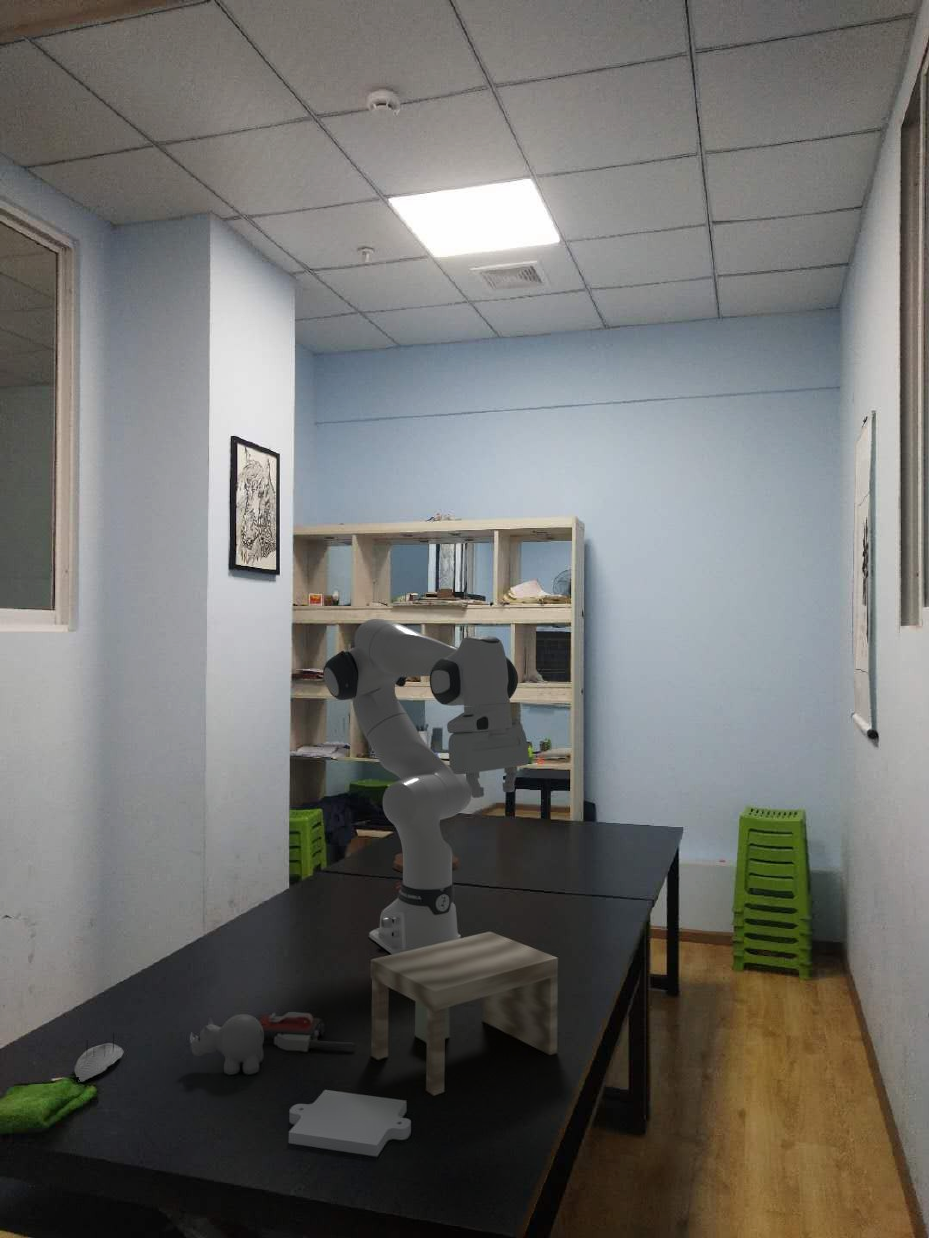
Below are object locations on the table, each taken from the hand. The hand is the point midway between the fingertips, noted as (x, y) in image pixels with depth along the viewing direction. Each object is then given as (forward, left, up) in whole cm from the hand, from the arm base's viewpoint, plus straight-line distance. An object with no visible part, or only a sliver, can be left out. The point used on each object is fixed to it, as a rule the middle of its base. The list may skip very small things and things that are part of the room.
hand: (493, 794), depth 183 cm
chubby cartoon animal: (-8, -49, -41) cm, 64 cm away
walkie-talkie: (-10, -34, -41) cm, 55 cm away
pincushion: (-21, -65, -41) cm, 80 cm away
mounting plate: (+20, -43, -41) cm, 63 cm away
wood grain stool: (+11, -15, -41) cm, 45 cm away
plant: (-100, +58, -41) cm, 123 cm away
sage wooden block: (+2, -15, -41) cm, 44 cm away
